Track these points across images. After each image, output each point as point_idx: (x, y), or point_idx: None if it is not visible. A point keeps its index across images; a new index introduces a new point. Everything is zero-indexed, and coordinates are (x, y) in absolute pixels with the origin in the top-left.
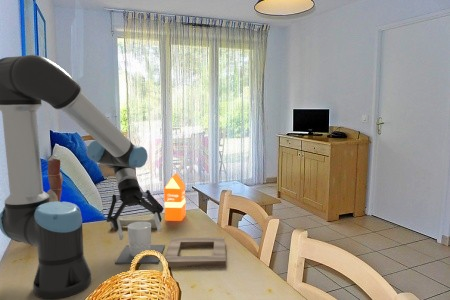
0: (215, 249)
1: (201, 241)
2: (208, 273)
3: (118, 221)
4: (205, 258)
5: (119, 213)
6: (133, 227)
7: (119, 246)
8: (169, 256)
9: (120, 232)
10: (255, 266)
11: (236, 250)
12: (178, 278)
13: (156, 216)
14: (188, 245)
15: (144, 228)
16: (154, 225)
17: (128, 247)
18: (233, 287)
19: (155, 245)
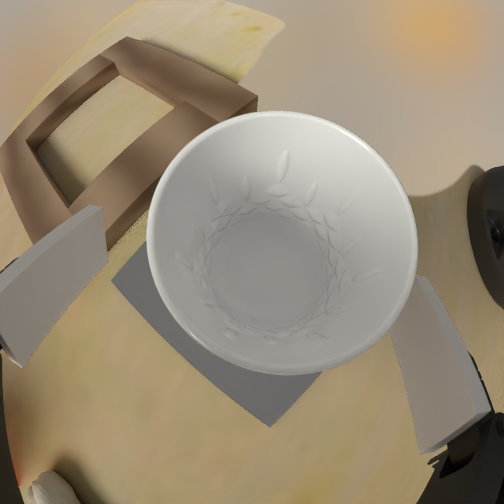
0: (73, 89)
1: (35, 162)
2: (184, 41)
3: (476, 385)
4: (141, 56)
5: (476, 485)
6: (298, 352)
7: (292, 447)
8: (207, 112)
9: (438, 297)
10: (100, 37)
11: (39, 103)
12: (259, 55)
13: (17, 274)
14: (62, 195)
15: (294, 112)
16: (57, 481)
17: (275, 393)
18: (198, 7)
19: (147, 309)
